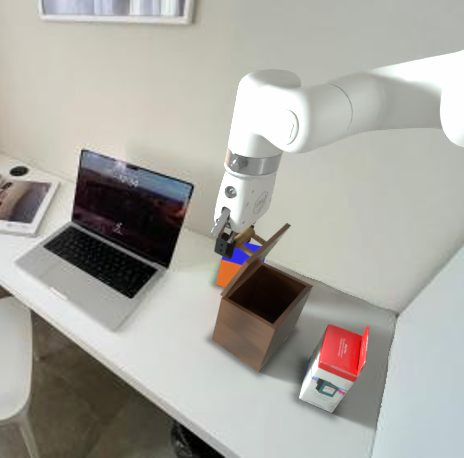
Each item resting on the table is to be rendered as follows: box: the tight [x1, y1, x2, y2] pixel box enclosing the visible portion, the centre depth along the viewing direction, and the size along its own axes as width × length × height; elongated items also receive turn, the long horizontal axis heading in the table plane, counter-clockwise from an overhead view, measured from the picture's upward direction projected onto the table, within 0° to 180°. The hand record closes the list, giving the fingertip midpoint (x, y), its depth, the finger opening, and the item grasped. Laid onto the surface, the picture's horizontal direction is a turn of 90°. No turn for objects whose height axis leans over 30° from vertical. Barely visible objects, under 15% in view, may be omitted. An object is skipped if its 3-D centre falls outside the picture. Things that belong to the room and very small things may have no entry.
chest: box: [211, 261, 314, 373], centre depth 68 cm, size 10×14×13 cm
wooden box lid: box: [219, 222, 292, 298], centre depth 64 cm, size 10×14×5 cm
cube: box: [215, 242, 266, 288], centre depth 81 cm, size 8×8×8 cm
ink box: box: [299, 323, 371, 414], centre depth 58 cm, size 8×5×15 cm, turn 144°
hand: (232, 246), depth 66 cm, fingers open, 5 cm apart
